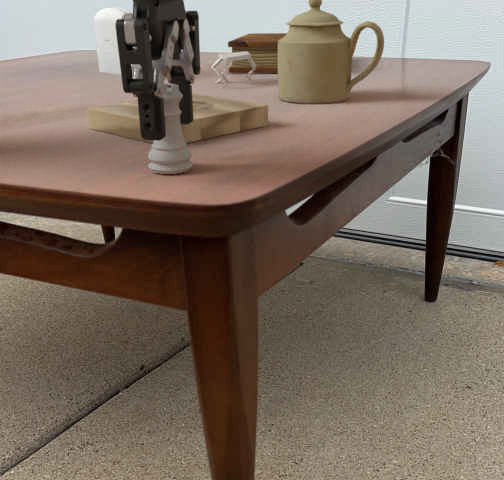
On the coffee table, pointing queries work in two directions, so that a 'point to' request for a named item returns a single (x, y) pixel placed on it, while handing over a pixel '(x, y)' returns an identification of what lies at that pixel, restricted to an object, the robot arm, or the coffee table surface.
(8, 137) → the coffee table surface
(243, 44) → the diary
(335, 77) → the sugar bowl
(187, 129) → the pad
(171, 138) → the rook chess piece
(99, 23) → the tombstone
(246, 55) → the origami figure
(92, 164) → the coffee table surface
